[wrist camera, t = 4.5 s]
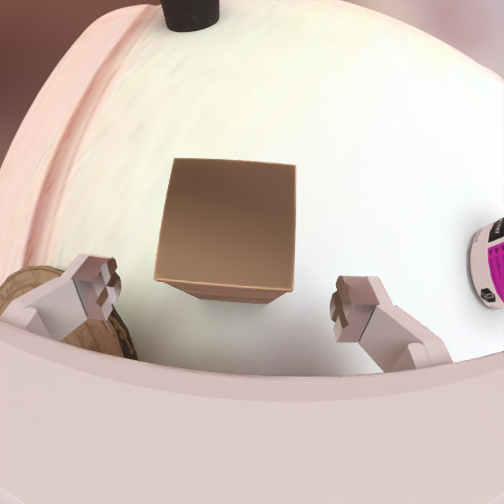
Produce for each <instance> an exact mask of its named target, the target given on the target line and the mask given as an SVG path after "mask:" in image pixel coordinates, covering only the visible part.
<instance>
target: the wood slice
mask: <svg viewBox="0 0 504 504" xmlns="http://www.w3.org/2000/svg"><path fill="white" fill-rule="evenodd" d="M64 272H65V271H62V270H59V269H56V268H53V267H50V266H27V267H25V268H23V269H21V270H19V271H17V272H15V273H13V274H11V275H10V276H9V277H8V278H7V279H6V280H5V281H4V283H3V284H2V285H1V286H0V316H1V315H2V313H3V312H4V311H5V309H6V308H7V307H8V306H9V304H10V303H11V302H12V301H13V300H15V299H16V298H18V297H20V296H22V295H24V294H25V293H27V292H29V291H31V290H33V289H35V288H37V287H39V286H40V285H42V284H44V283H46V282H48V281H50V280H52V279H54V278H56V277H60V276H61V275H62V274H63V273H64ZM111 305H112V304H111ZM112 308H113V309H112V311H111V313H110V315H109V317H108V319H107V320H106V321H103V320H97V319H91V318H88V319H87V320H86V321H85V322H83V323H82V324H81V325H80V326H78V327H77V328H76V329H75V330H73V331H72V332H71V333H70V334H68V335H67V336H66V337H65V338H63V339H62V340H61V341H60V342H62V343H66V344H69V345H73V346H76V347H80V348H84V349H87V350H91V351H95V352H99V353H104V354H108V355H112V356H117V357H121V358H126V359H131V360H136V361H138V358H137V355H136V352H135V349H134V346H133V343H132V340H131V337H130V334H129V331H128V329H127V327H126V326H125V324H124V323H123V321H122V319H121V318H120V316H119V315H118V313H117V311H116V310H115V308H114V306H113V305H112Z"/></svg>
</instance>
